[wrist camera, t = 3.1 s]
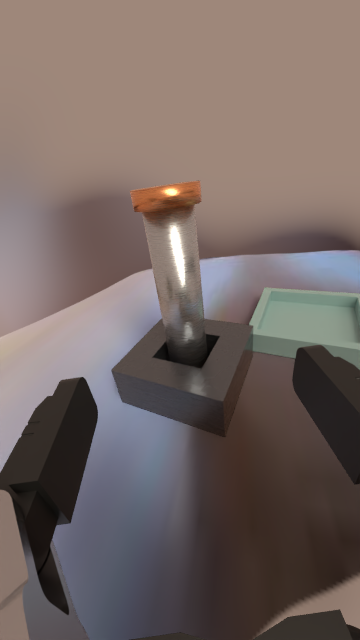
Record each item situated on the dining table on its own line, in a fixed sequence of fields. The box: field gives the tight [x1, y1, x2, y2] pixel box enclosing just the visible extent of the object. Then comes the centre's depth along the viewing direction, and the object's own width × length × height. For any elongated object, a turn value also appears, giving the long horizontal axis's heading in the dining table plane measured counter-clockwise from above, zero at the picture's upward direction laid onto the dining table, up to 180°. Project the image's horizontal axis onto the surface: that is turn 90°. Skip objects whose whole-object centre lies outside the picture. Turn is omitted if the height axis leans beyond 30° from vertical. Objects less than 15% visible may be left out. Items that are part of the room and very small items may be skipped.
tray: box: [249, 288, 360, 370], centre depth 29 cm, size 12×12×2 cm
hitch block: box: [111, 319, 253, 437], centre depth 24 cm, size 10×10×4 cm
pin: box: [130, 181, 208, 369], centre depth 20 cm, size 5×5×17 cm
